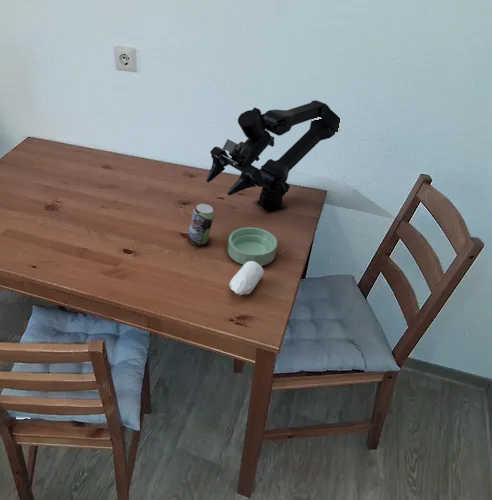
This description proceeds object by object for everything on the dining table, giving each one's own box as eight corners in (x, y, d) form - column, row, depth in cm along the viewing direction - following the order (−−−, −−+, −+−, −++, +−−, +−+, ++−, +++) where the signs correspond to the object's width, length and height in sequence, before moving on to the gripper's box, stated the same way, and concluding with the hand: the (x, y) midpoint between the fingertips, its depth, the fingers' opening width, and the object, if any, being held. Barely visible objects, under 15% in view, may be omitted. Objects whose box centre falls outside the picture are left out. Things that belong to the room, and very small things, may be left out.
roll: (222, 298, 140) (224, 281, 136) (242, 273, 148) (244, 257, 144) (244, 306, 137) (246, 290, 134) (263, 281, 145) (265, 264, 142)
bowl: (259, 235, 162) (260, 223, 159) (284, 261, 152) (286, 248, 149) (219, 245, 158) (220, 233, 156) (242, 272, 148) (243, 259, 145)
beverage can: (185, 236, 162) (187, 202, 155) (209, 234, 163) (212, 200, 156) (189, 248, 157) (190, 213, 150) (213, 246, 158) (216, 212, 151)
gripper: (221, 119, 156) (185, 159, 156) (267, 142, 144) (229, 186, 144) (234, 142, 165) (201, 180, 164) (280, 166, 152) (243, 207, 152)
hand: (217, 187), depth 156 cm, fingers open, 9 cm apart
